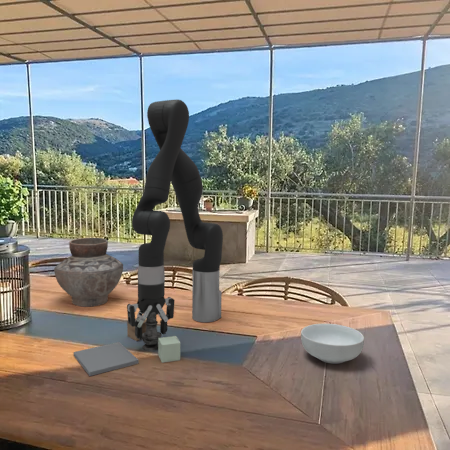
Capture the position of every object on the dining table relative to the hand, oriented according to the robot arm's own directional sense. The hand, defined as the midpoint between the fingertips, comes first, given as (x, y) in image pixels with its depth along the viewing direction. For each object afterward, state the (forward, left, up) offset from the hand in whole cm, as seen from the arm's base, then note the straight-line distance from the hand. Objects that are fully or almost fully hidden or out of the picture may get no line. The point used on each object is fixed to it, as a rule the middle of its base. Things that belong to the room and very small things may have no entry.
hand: (151, 335), depth 124 cm
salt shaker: (0, 0, -3) cm, 3 cm away
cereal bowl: (-39, +33, -4) cm, 51 cm away
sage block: (-1, +9, -3) cm, 10 cm away
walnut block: (0, -9, -3) cm, 10 cm away
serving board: (+14, +1, -3) cm, 14 cm away
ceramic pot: (+2, -50, -3) cm, 50 cm away
